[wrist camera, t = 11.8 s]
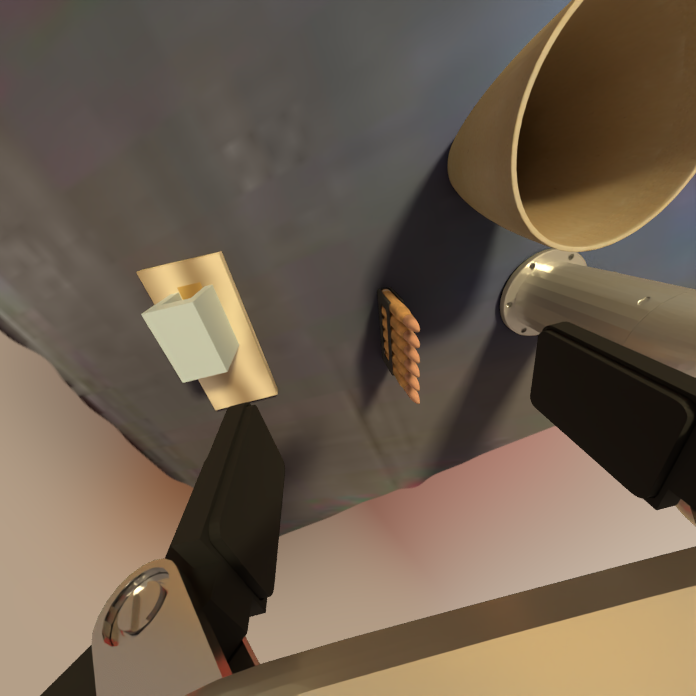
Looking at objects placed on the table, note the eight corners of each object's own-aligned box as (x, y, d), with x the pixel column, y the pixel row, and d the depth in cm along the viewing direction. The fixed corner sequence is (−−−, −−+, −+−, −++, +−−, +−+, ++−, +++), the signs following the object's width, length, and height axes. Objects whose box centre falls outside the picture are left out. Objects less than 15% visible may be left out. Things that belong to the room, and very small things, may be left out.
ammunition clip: (377, 288, 36) (409, 323, 25) (390, 286, 36) (428, 320, 25) (382, 358, 41) (410, 411, 30) (394, 356, 41) (426, 408, 30)
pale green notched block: (212, 284, 31) (192, 302, 25) (239, 344, 35) (227, 371, 29) (170, 294, 31) (141, 314, 25) (202, 353, 35) (182, 382, 29)
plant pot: (395, 211, 32) (469, 215, 18) (451, 41, 26) (632, -155, 12) (498, 248, 36) (626, 275, 22) (568, 108, 30) (808, 20, 16)
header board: (221, 251, 31) (207, 259, 26) (277, 389, 40) (274, 413, 36) (141, 269, 30) (113, 281, 26) (217, 404, 40) (207, 430, 35)
